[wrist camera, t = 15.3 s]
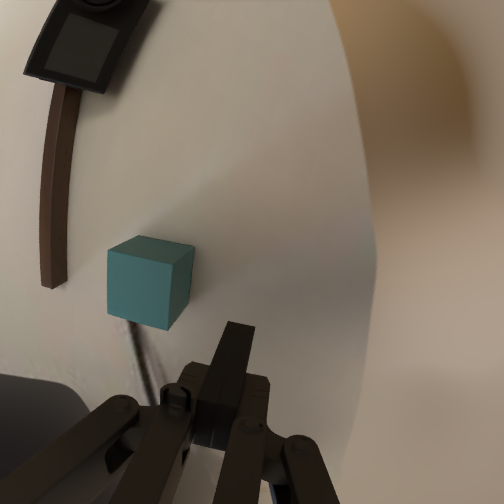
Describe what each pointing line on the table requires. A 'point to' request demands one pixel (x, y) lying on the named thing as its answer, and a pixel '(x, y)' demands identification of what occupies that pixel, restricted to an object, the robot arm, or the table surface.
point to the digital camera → (84, 42)
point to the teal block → (149, 281)
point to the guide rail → (56, 184)
